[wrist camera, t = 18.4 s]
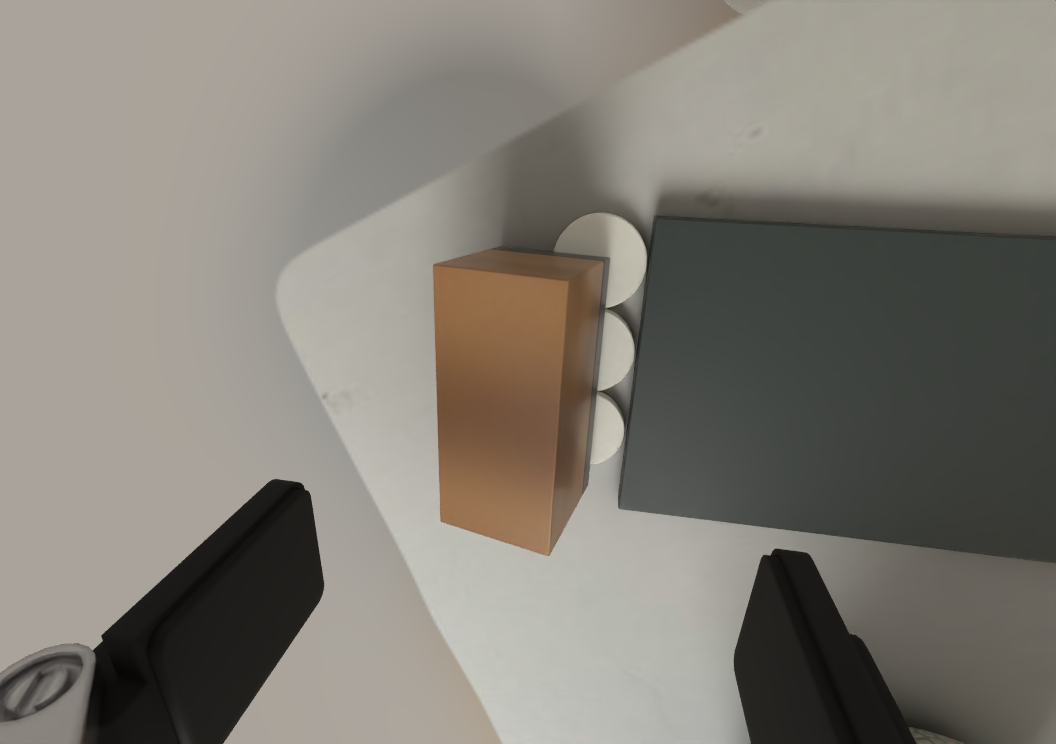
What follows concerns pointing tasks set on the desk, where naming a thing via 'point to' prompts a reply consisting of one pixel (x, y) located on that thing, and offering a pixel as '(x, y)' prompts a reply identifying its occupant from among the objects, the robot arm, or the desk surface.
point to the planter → (930, 737)
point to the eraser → (517, 389)
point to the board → (848, 383)
